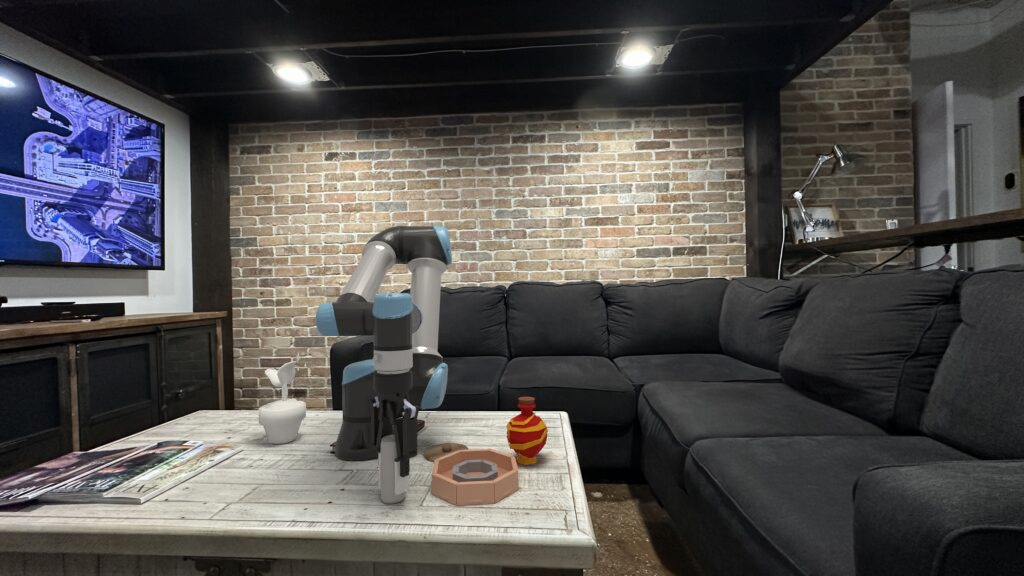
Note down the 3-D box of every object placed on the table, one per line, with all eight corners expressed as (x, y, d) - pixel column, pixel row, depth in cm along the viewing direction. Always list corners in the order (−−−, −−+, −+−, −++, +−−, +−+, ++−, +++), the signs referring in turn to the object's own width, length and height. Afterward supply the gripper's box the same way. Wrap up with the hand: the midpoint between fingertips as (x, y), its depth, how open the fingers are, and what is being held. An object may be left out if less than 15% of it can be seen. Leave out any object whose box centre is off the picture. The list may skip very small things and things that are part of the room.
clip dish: (414, 486, 88) (414, 467, 88) (474, 459, 102) (474, 443, 102) (475, 515, 76) (475, 493, 76) (534, 480, 90) (533, 462, 90)
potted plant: (314, 438, 118) (314, 349, 118) (272, 451, 108) (272, 355, 108) (289, 430, 125) (290, 347, 125) (248, 442, 115) (248, 351, 115)
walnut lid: (415, 457, 105) (415, 447, 105) (448, 445, 113) (448, 435, 113) (444, 469, 98) (444, 457, 98) (477, 454, 106) (477, 444, 106)
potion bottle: (545, 470, 95) (545, 405, 96) (501, 467, 97) (501, 402, 98) (550, 453, 106) (550, 394, 106) (510, 450, 108) (510, 392, 108)
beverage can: (383, 507, 79) (383, 444, 79) (378, 496, 84) (378, 436, 84) (408, 501, 82) (408, 439, 82) (402, 491, 86) (402, 432, 86)
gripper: (352, 368, 86) (352, 481, 85) (404, 379, 74) (404, 510, 74) (383, 363, 91) (384, 469, 91) (437, 372, 80) (437, 494, 80)
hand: (393, 487), depth 83 cm, fingers closed on beverage can, 5 cm apart
